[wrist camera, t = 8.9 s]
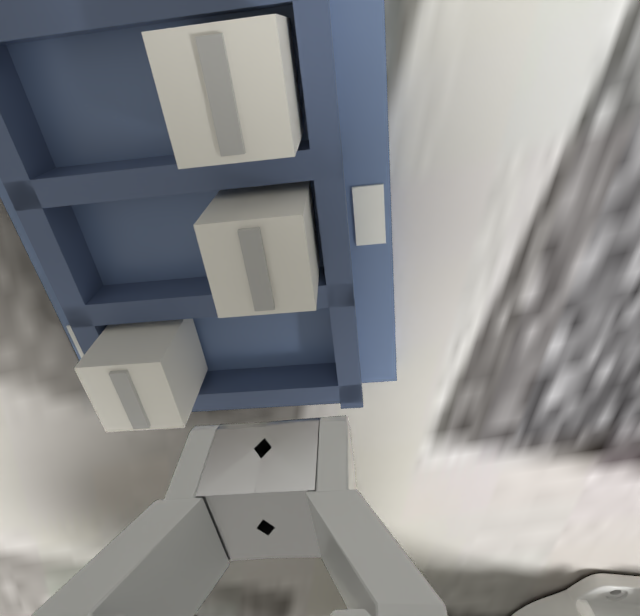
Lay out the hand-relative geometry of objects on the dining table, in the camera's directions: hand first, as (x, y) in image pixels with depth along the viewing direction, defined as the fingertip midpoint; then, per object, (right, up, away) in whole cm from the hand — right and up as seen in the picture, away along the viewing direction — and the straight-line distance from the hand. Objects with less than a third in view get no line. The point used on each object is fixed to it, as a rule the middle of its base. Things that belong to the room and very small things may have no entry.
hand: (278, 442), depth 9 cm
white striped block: (-2, +12, +9) cm, 15 cm away
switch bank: (-5, +7, +14) cm, 16 cm away
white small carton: (-1, +6, +12) cm, 14 cm away
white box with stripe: (-8, +1, +16) cm, 18 cm away
